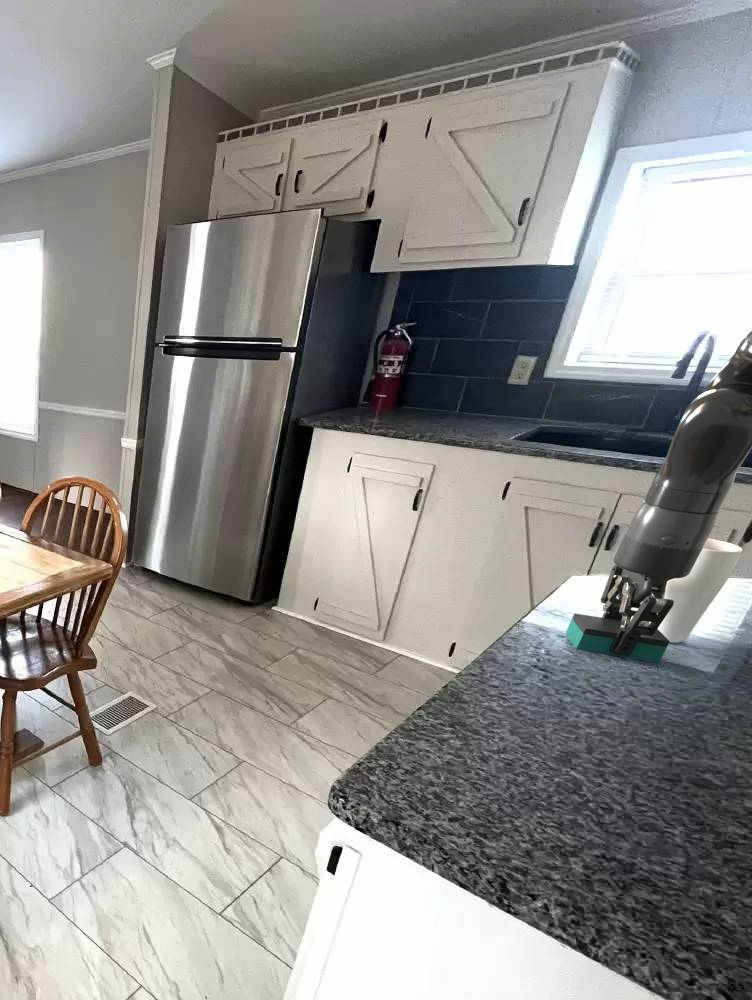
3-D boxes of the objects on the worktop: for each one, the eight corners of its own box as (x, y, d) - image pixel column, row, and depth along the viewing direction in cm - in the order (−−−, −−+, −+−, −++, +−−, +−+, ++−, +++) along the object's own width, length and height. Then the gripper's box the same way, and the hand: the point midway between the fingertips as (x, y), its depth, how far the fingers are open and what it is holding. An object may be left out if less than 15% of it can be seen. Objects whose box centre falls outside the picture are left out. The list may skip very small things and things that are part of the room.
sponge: (643, 646, 94) (654, 625, 93) (658, 663, 90) (670, 641, 88) (565, 633, 98) (574, 613, 97) (576, 649, 94) (585, 628, 92)
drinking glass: (688, 651, 92) (740, 555, 86) (624, 634, 97) (669, 542, 91) (696, 637, 96) (747, 544, 90) (635, 621, 101) (679, 532, 94)
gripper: (729, 559, 79) (666, 674, 87) (679, 526, 91) (627, 629, 98) (648, 550, 83) (593, 661, 90) (609, 519, 94) (564, 619, 101)
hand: (611, 644), depth 94 cm, fingers closed on sponge, 5 cm apart
